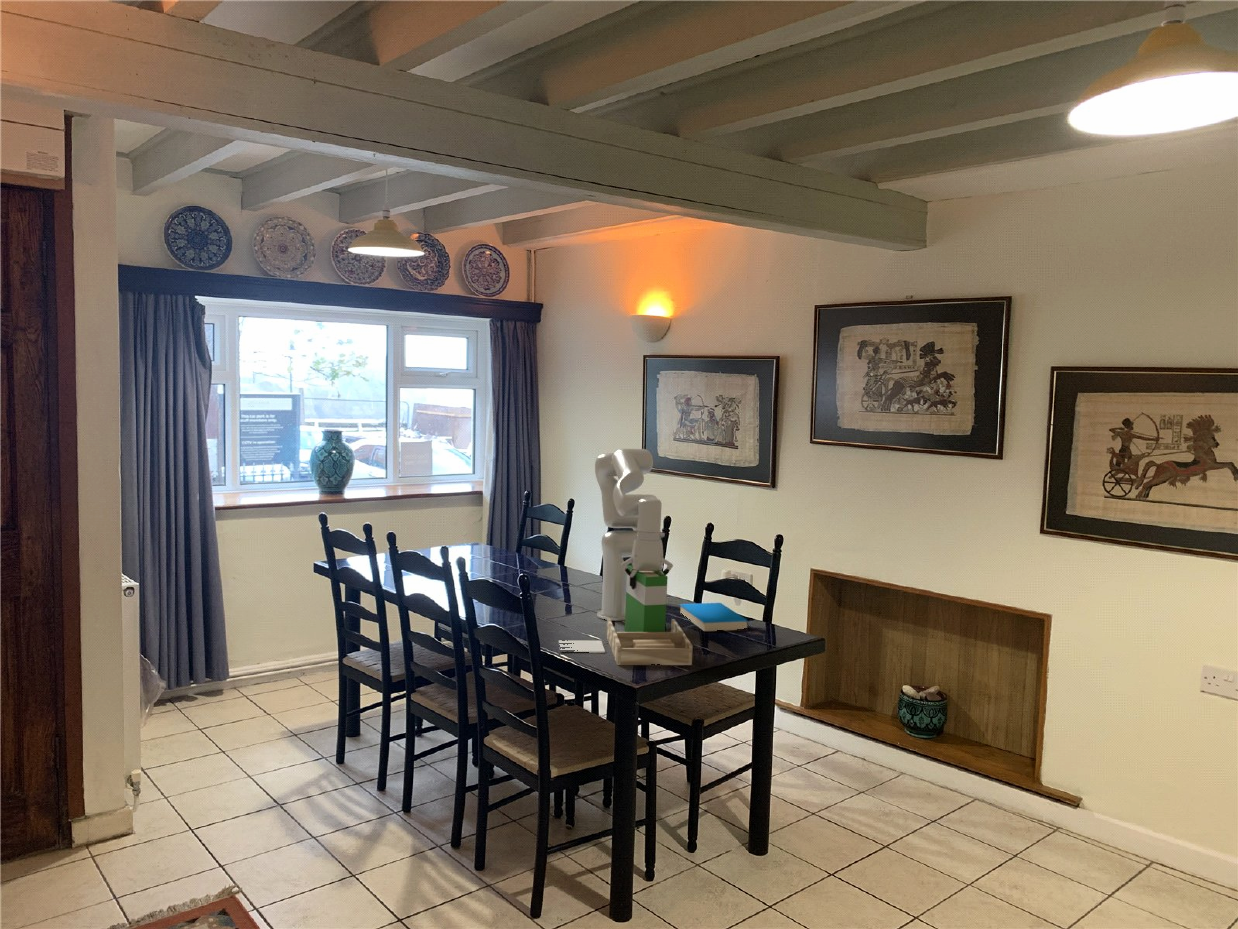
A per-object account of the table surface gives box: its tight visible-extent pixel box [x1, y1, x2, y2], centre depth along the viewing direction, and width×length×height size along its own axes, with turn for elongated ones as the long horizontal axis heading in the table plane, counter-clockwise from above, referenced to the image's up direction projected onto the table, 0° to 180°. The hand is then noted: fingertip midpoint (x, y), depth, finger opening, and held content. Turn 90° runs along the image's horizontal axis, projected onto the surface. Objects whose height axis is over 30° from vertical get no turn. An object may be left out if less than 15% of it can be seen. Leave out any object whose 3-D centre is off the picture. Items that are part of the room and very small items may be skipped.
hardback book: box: [624, 564, 668, 632], centre depth 296 cm, size 18×7×24 cm, turn 19°
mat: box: [558, 639, 606, 654], centre depth 290 cm, size 12×14×1 cm
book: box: [679, 602, 749, 632], centre depth 329 cm, size 17×4×25 cm
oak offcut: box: [632, 639, 675, 648], centre depth 281 cm, size 6×12×3 cm, turn 101°
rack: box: [606, 618, 694, 666], centre depth 290 cm, size 31×23×7 cm
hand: (646, 588), depth 296 cm, fingers closed on hardback book, 8 cm apart
